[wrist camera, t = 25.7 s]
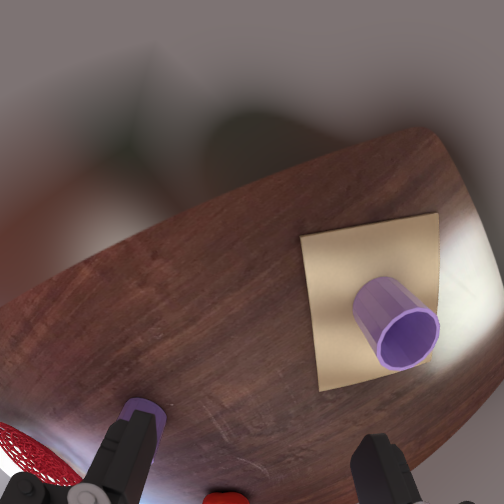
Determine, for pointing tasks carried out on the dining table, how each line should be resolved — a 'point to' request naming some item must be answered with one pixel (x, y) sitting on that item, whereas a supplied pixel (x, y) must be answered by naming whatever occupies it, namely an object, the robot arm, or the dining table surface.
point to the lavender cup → (395, 323)
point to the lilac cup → (146, 407)
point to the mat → (354, 278)
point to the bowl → (37, 457)
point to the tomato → (225, 498)
